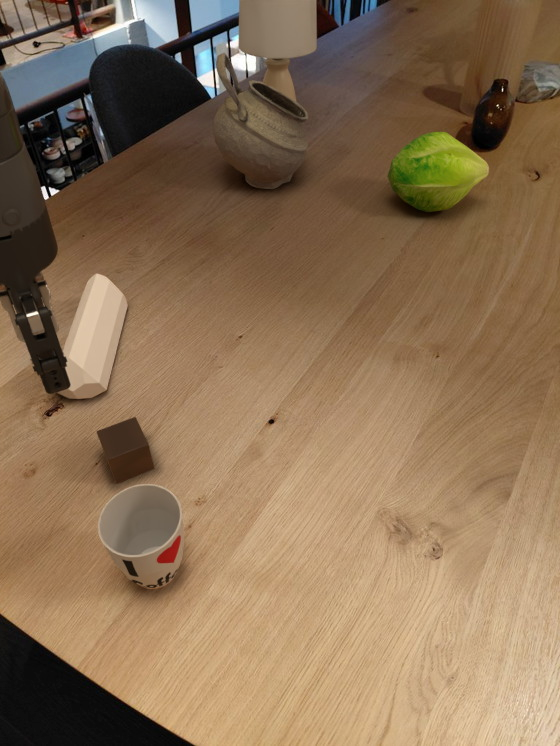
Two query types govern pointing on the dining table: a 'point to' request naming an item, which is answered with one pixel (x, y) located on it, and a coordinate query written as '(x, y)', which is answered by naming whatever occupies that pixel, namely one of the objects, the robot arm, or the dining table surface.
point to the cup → (144, 534)
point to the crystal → (94, 338)
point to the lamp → (278, 36)
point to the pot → (259, 130)
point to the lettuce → (435, 172)
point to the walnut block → (126, 449)
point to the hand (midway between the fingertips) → (48, 361)
